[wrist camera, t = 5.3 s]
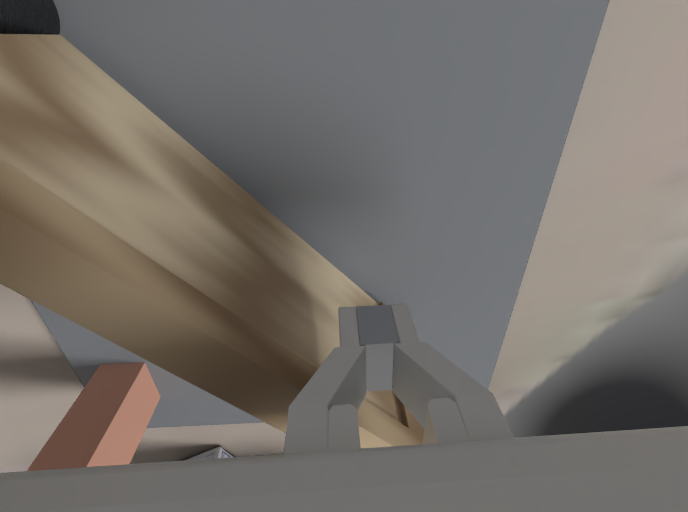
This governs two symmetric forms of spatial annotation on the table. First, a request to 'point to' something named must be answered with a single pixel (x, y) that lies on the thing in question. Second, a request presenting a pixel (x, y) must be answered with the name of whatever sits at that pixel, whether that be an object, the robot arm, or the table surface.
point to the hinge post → (29, 17)
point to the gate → (162, 244)
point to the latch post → (103, 420)
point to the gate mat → (360, 144)
